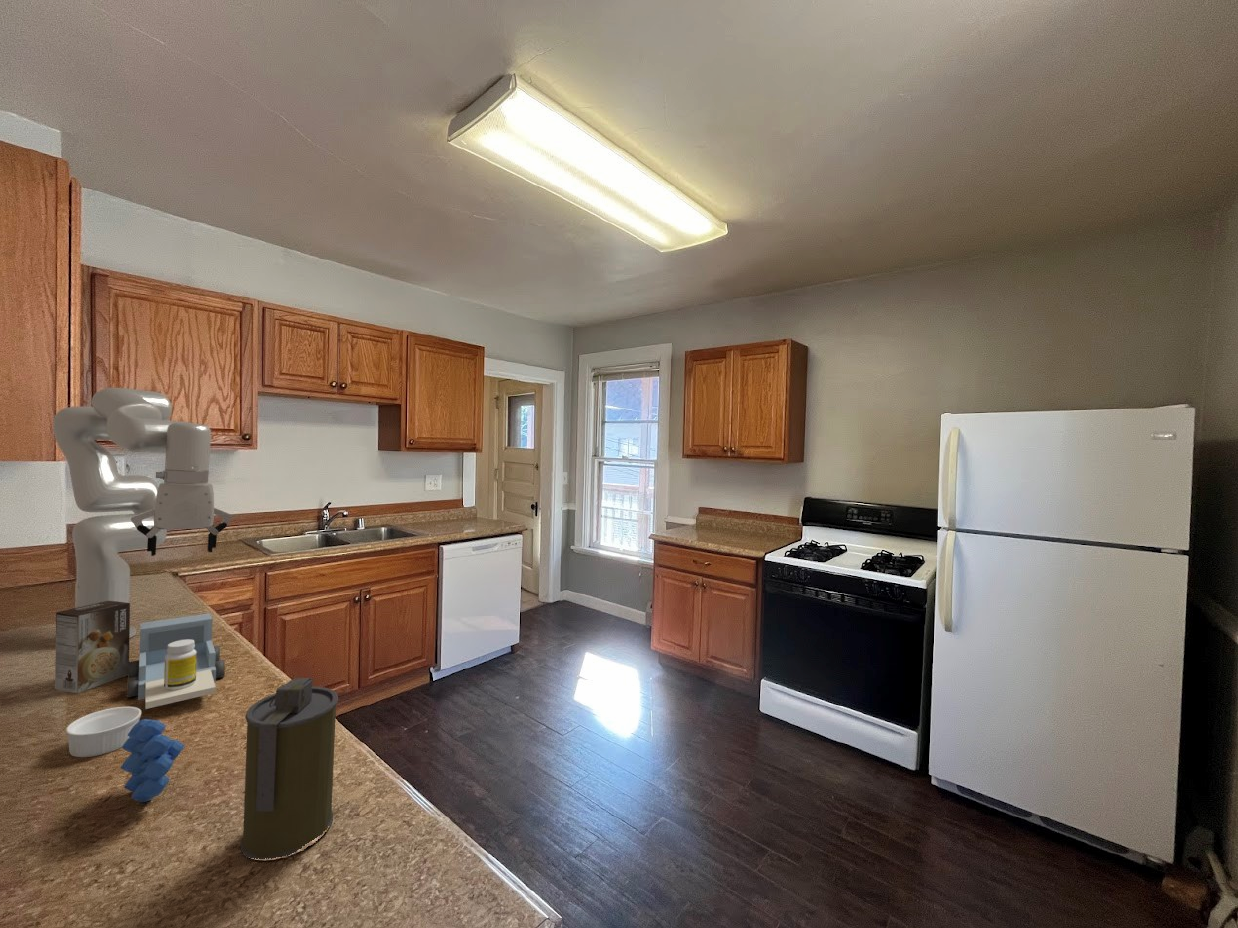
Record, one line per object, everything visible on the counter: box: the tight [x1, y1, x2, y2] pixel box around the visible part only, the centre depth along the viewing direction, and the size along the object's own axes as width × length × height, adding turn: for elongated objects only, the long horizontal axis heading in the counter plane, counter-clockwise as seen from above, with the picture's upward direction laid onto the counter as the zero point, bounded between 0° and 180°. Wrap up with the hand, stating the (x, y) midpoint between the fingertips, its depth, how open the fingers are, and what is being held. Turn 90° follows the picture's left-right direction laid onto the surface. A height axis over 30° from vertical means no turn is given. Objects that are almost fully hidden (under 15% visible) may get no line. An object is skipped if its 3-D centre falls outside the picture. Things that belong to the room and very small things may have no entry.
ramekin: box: [65, 706, 142, 758], centre depth 84 cm, size 9×9×4 cm
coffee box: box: [54, 601, 131, 694], centre depth 104 cm, size 9×6×16 cm
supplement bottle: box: [164, 639, 197, 690], centre depth 98 cm, size 5×5×8 cm
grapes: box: [120, 718, 186, 803], centre depth 72 cm, size 12×7×12 cm, turn 59°
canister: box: [240, 677, 339, 859], centre depth 67 cm, size 11×10×20 cm
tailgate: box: [144, 669, 217, 710], centre depth 98 cm, size 1×10×11 cm
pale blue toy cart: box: [126, 612, 226, 701], centre depth 108 cm, size 16×15×11 cm
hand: (182, 552), depth 112 cm, fingers open, 9 cm apart
